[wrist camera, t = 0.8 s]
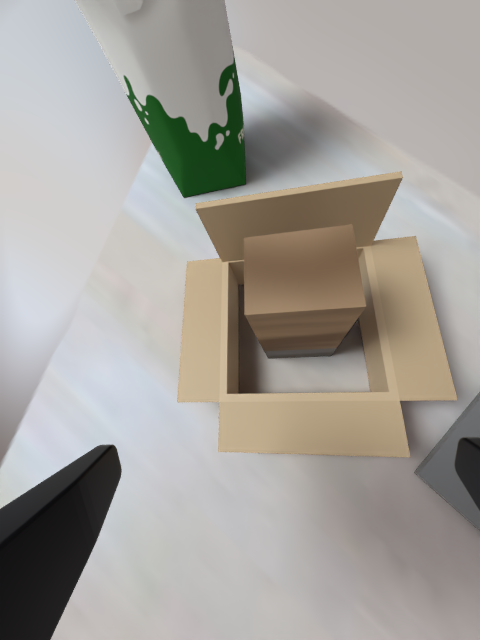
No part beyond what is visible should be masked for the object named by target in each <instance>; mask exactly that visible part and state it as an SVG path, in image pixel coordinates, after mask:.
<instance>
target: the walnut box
mask: <svg viewBox="0 0 480 640" xmlns="http://www.w3.org/2000/svg"><path fill="white" fill-rule="evenodd" d="M365 308H366V302H365V296H364V290H363V284H362V278H361V272H360V266H359V260H358V254H357V248H356V242H355V236H354V230H353V224H350V225H342V226H334V227H326V228H318V229H310V230H302V231H294V232H286V233H278V234H270V235H262V236H254V237H246V238H244V315H245V317H246V319H247V321H248V322H249V324H250V326H251V328H252V330H253V332H254V333H255V335H256V337H257V339H258V341H259V343H260V344H261V346H262V348H263V350H264V352H265V353H266V355H267V357H268V358H293V357H319V356H331V355H332V354H333V353H334V351H335V350H336V348H337V347H338V346H339V344H340V343H341V341H342V340H343V339H344V337H345V336H346V334H347V333H348V332H349V330H350V329H351V327H352V326H353V325H354V323H355V322H356V320H357V319H358V318H359V316H360V315H361V313H362V312H363V311H364V309H365Z"/></svg>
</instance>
